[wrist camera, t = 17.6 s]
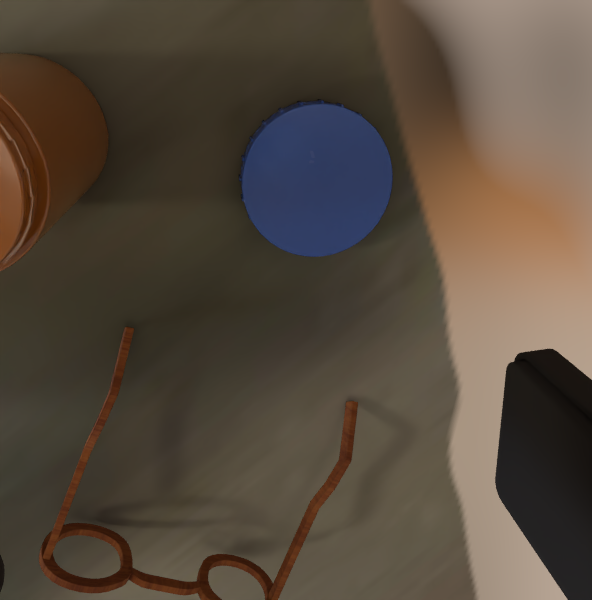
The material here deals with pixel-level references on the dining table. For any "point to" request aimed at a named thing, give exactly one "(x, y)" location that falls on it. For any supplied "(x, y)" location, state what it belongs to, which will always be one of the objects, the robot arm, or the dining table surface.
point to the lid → (315, 178)
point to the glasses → (202, 584)
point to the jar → (43, 148)
